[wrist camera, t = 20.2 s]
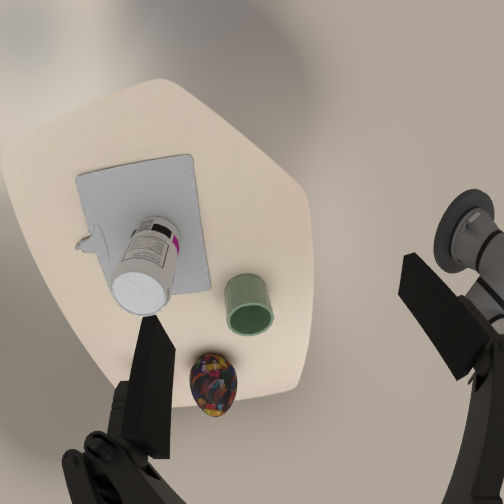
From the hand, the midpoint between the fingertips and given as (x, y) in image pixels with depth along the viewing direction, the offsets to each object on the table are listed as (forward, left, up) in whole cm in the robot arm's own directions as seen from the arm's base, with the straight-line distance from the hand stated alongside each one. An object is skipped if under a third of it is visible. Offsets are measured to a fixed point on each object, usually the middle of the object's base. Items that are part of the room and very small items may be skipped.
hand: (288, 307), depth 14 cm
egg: (+16, +43, -32) cm, 55 cm away
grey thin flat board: (+20, +8, -32) cm, 38 cm away
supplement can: (+16, +9, -31) cm, 36 cm away
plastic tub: (+4, +24, -32) cm, 40 cm away
